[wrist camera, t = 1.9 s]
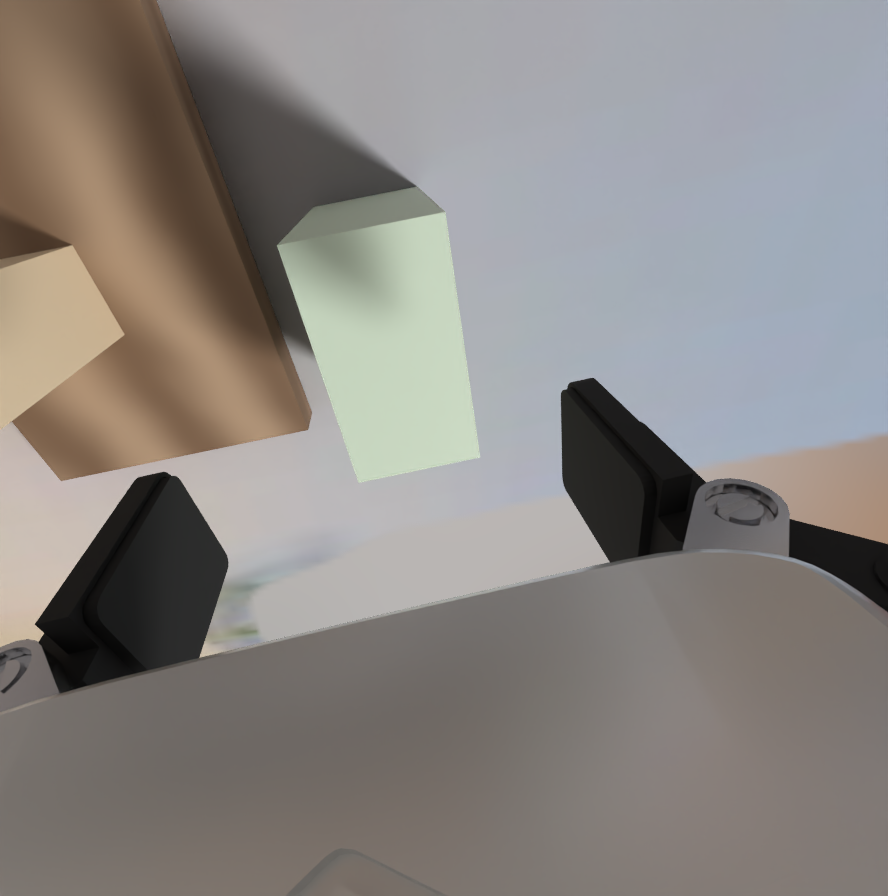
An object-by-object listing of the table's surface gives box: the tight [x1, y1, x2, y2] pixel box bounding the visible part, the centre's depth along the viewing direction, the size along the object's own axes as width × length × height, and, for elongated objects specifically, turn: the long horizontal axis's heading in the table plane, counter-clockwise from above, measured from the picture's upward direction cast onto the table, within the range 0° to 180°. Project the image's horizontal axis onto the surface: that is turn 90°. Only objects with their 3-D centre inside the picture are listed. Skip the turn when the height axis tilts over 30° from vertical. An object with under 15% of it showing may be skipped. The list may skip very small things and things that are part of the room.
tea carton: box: [277, 187, 480, 483], centre depth 20 cm, size 5×9×10 cm, turn 9°
